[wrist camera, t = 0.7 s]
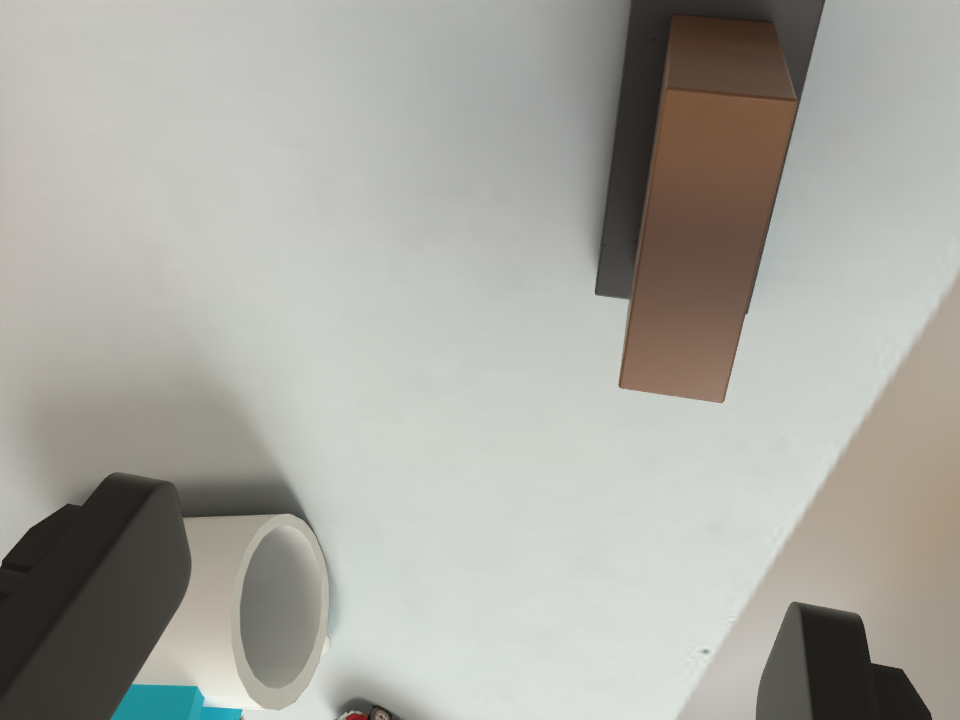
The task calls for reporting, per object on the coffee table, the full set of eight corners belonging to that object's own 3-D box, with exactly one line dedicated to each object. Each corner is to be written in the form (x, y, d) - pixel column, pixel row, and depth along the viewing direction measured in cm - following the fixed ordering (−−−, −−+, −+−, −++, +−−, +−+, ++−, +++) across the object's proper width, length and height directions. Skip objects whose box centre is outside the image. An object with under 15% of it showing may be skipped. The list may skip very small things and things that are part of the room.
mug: (-95, 732, 31) (193, 748, 27) (4, 495, 36) (259, 482, 32) (113, 782, 40) (348, 798, 37) (169, 588, 45) (381, 586, 41)
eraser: (638, -45, 21) (617, 26, 16) (824, -31, 21) (872, 48, 15) (598, 276, 26) (570, 416, 21) (745, 295, 26) (758, 444, 20)
